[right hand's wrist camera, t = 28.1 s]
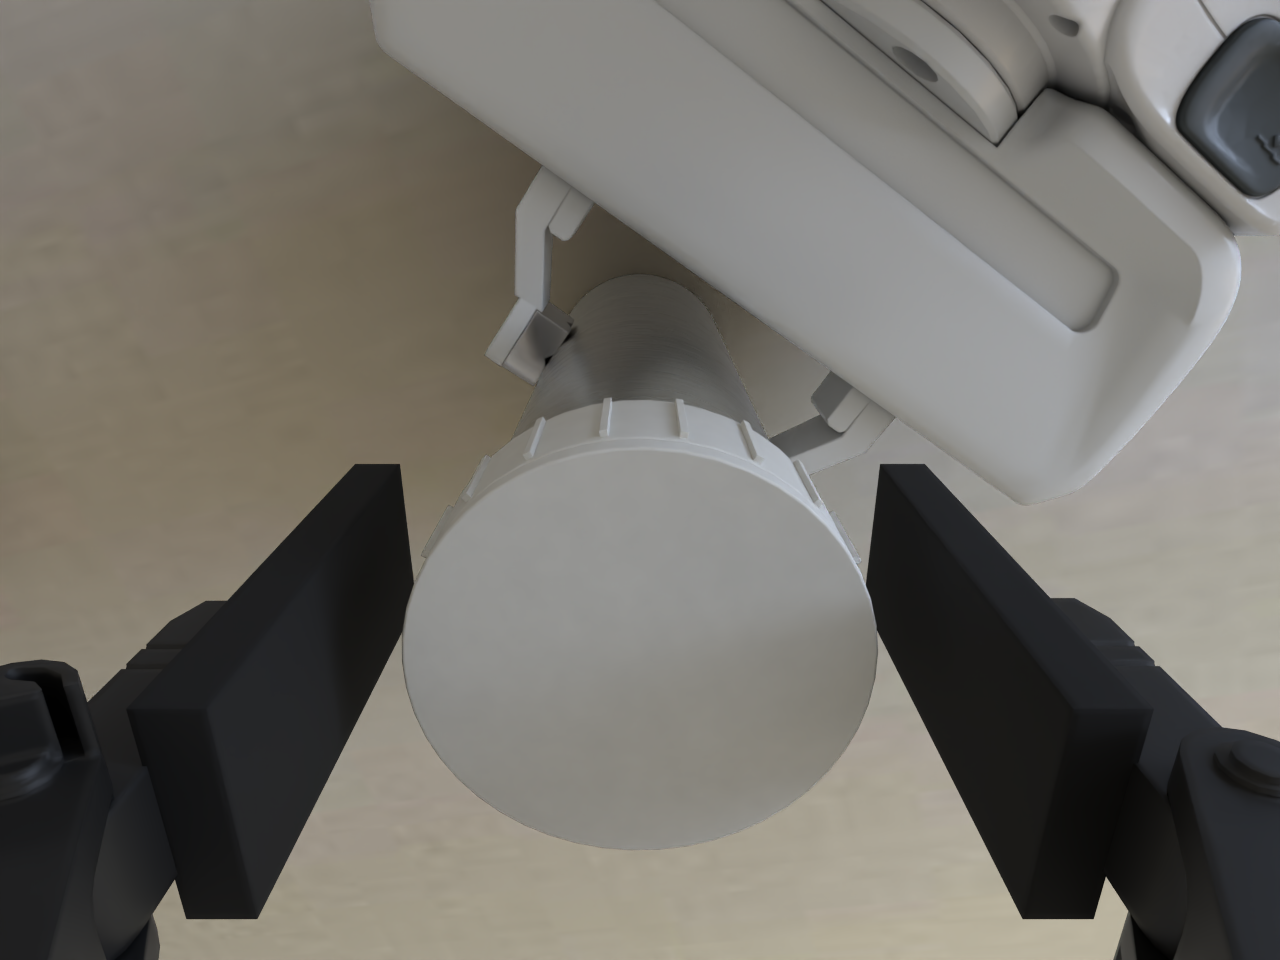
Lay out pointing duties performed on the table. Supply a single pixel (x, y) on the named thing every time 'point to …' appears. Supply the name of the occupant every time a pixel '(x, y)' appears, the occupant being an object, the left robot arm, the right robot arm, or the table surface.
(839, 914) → the table surface
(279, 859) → the right robot arm
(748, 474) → the lid
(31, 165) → the table surface
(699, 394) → the grey cylinder
